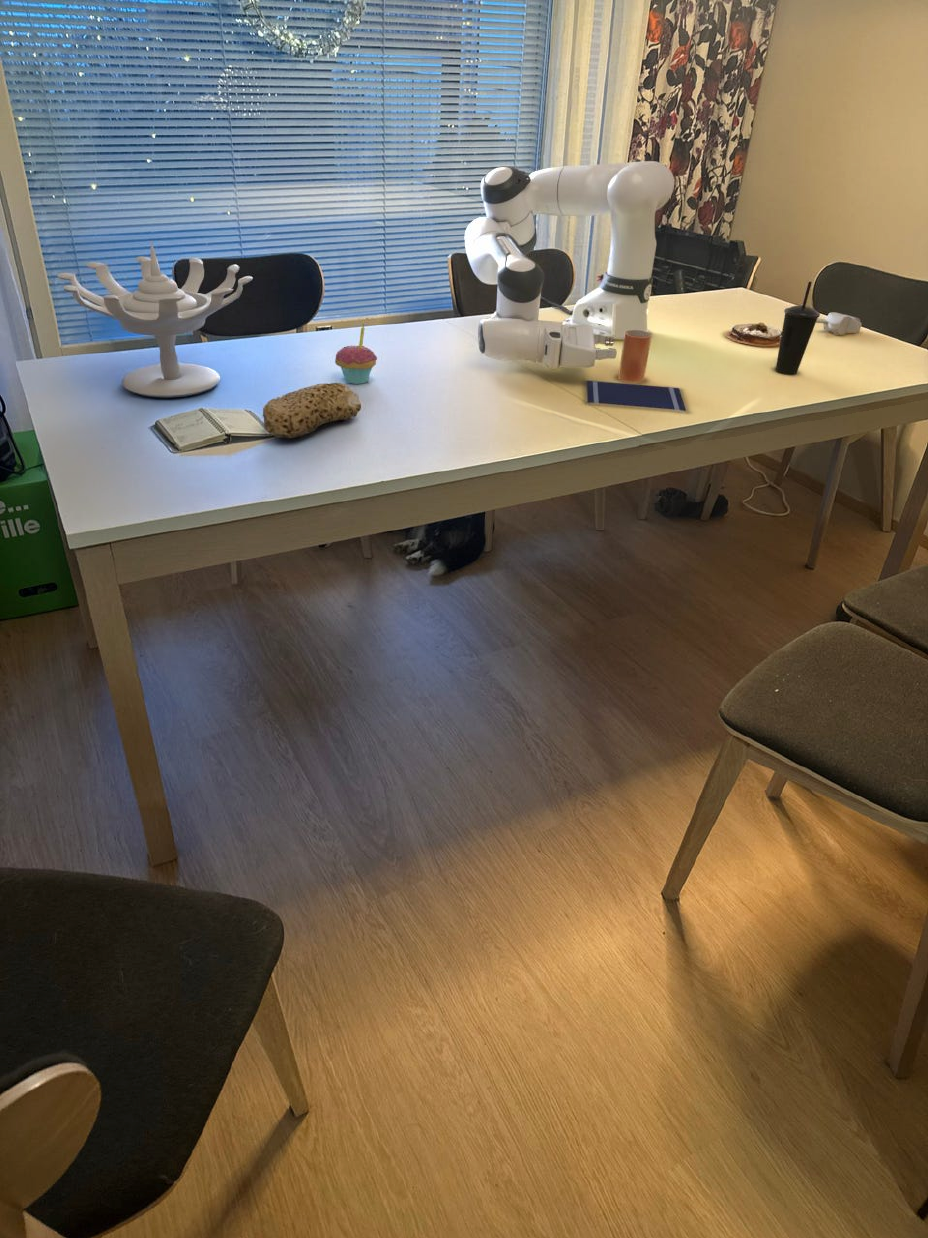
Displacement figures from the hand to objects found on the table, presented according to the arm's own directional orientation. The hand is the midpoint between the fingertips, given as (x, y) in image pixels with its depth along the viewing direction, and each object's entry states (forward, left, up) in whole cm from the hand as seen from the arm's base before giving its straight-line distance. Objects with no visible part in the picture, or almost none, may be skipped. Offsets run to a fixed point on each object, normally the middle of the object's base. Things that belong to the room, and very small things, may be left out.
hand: (615, 347), depth 182 cm
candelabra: (-62, -70, -7) cm, 93 cm away
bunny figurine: (+26, +80, -7) cm, 84 cm away
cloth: (+10, -7, -7) cm, 14 cm away
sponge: (-26, -66, -7) cm, 72 cm away
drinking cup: (+28, +35, -7) cm, 45 cm away
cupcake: (-38, -41, -7) cm, 57 cm away
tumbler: (+4, +2, -7) cm, 8 cm away
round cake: (+12, +57, -7) cm, 58 cm away
